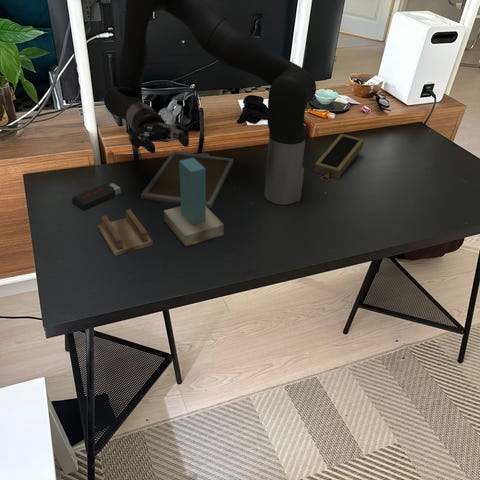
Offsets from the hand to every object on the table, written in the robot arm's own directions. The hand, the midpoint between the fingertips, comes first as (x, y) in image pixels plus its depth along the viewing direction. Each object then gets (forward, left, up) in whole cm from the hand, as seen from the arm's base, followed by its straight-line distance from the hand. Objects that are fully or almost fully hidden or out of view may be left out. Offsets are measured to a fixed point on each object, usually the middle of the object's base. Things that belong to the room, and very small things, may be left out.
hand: (170, 146), depth 115 cm
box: (-49, -21, -17) cm, 56 cm away
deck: (-5, +10, -17) cm, 20 cm away
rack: (+11, +13, -17) cm, 24 cm away
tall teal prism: (-5, +10, -14) cm, 18 cm away
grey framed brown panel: (-5, -16, -17) cm, 24 cm away
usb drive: (+20, -5, -17) cm, 27 cm away
